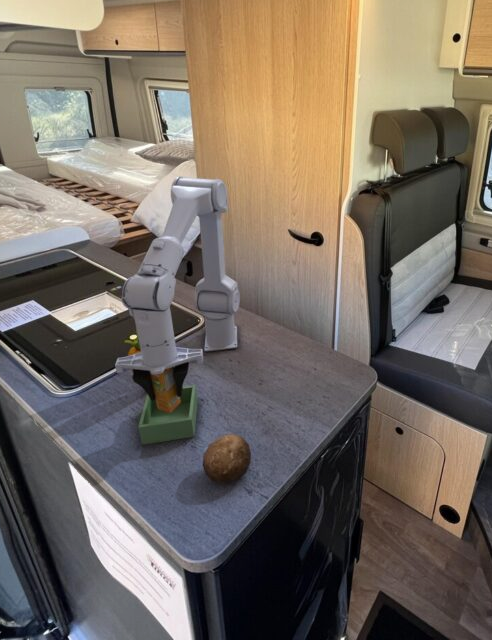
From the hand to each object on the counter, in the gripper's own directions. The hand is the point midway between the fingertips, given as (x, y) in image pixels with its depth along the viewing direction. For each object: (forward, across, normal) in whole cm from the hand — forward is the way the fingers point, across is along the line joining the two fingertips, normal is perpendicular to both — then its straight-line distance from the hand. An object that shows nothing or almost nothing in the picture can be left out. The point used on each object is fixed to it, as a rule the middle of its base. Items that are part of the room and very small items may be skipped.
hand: (167, 395), depth 74 cm
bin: (+7, 0, 0) cm, 7 cm away
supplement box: (+3, 0, 0) cm, 3 cm away
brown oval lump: (+7, +11, -13) cm, 18 cm away
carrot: (+7, -6, +10) cm, 14 cm away
